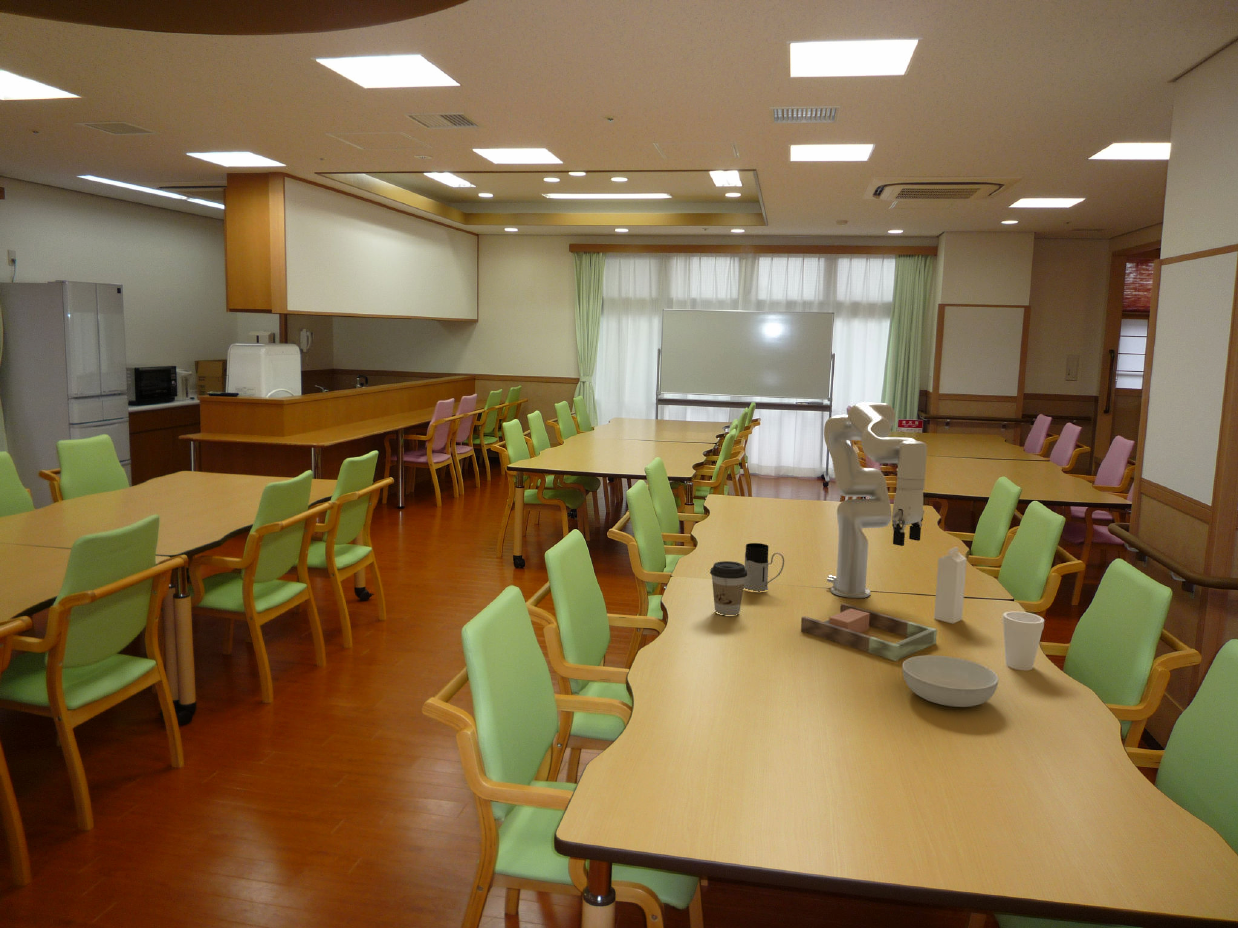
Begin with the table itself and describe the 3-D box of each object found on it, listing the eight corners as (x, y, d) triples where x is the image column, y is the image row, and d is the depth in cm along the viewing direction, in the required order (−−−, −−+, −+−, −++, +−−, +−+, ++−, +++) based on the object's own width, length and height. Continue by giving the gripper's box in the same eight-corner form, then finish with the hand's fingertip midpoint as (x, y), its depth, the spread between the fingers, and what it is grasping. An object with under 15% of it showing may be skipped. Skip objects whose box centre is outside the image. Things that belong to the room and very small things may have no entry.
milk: (962, 619, 249) (968, 548, 246) (952, 624, 245) (959, 551, 242) (942, 614, 254) (948, 544, 251) (933, 618, 250) (939, 547, 247)
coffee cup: (704, 615, 249) (705, 567, 247) (714, 605, 260) (715, 558, 257) (741, 620, 245) (742, 571, 243) (749, 609, 255) (751, 562, 253)
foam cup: (1039, 662, 216) (1043, 614, 214) (1040, 675, 207) (1045, 625, 206) (999, 656, 220) (1003, 609, 218) (998, 668, 211) (1003, 619, 210)
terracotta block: (828, 634, 236) (829, 617, 235) (850, 624, 244) (850, 608, 243) (847, 639, 231) (848, 622, 231) (868, 629, 240) (869, 613, 239)
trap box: (800, 630, 237) (801, 617, 237) (842, 615, 251) (843, 603, 251) (895, 661, 215) (896, 646, 215) (935, 643, 229) (936, 629, 228)
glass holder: (749, 583, 283) (751, 541, 281) (788, 591, 275) (790, 547, 273) (737, 589, 276) (739, 546, 274) (776, 597, 268) (778, 552, 266)
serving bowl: (1009, 698, 193) (1011, 670, 192) (976, 727, 178) (978, 697, 177) (922, 673, 207) (924, 647, 206) (885, 698, 192) (886, 670, 191)
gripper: (912, 479, 245) (908, 535, 247) (883, 485, 233) (879, 544, 236) (936, 482, 240) (932, 540, 242) (908, 489, 228) (904, 549, 230)
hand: (906, 542), depth 239 cm, fingers open, 9 cm apart
